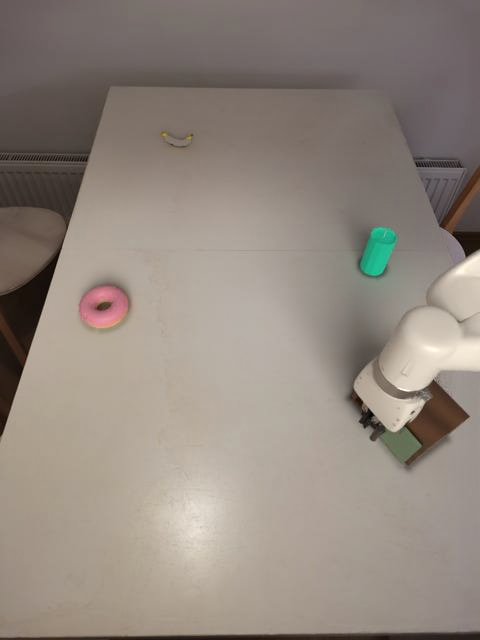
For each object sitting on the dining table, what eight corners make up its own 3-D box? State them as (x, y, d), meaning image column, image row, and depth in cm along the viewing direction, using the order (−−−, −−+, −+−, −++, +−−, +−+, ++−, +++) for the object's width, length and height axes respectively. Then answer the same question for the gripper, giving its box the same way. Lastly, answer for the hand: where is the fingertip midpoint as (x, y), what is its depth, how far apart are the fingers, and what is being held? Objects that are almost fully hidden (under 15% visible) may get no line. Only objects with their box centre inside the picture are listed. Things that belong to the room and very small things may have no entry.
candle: (382, 278, 105) (398, 243, 95) (357, 272, 106) (370, 236, 96) (385, 261, 108) (401, 225, 98) (362, 255, 109) (374, 219, 99)
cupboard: (386, 374, 90) (403, 348, 81) (445, 437, 82) (470, 416, 73) (350, 398, 86) (363, 373, 78) (407, 466, 79) (429, 447, 70)
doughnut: (128, 330, 95) (124, 319, 91) (78, 332, 94) (72, 322, 91) (132, 291, 101) (128, 280, 98) (84, 293, 101) (79, 282, 97)
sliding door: (376, 429, 82) (390, 410, 75) (404, 462, 79) (422, 445, 71) (361, 439, 81) (374, 421, 73) (389, 473, 78) (405, 458, 70)
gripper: (459, 401, 59) (413, 445, 74) (384, 324, 66) (356, 379, 81) (421, 429, 57) (381, 468, 72) (347, 346, 64) (325, 398, 79)
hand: (367, 421), depth 77 cm, fingers closed
